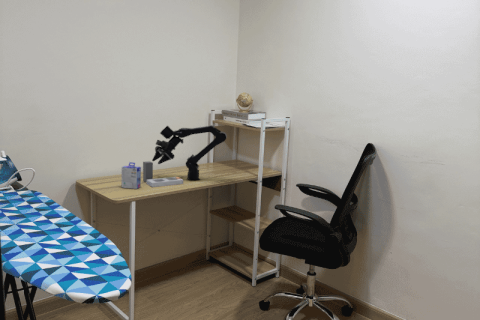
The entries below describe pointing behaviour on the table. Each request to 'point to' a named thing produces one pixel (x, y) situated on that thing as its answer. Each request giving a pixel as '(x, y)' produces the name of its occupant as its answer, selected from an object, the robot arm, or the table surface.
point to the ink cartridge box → (131, 176)
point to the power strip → (164, 181)
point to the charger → (147, 170)
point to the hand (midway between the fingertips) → (155, 162)
